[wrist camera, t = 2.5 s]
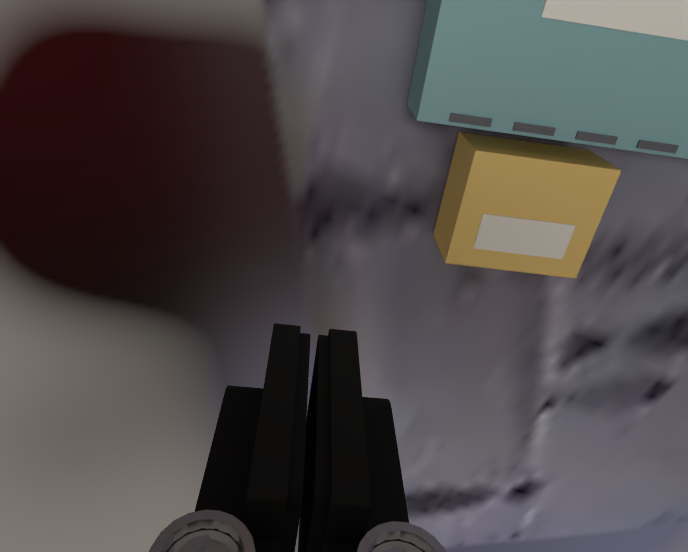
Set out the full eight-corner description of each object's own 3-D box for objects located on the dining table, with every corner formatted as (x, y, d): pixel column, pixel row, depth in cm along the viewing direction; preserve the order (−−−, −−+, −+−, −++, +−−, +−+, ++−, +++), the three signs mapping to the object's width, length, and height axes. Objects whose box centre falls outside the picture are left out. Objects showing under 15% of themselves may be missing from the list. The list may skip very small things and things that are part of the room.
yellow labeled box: (588, 149, 23) (622, 171, 20) (550, 248, 25) (576, 279, 22) (458, 131, 22) (476, 151, 19) (433, 234, 25) (445, 264, 22)
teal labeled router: (815, -62, 19) (895, -71, 16) (709, 148, 23) (760, 169, 20) (452, -129, 18) (473, -151, 15) (406, 104, 22) (417, 121, 19)
